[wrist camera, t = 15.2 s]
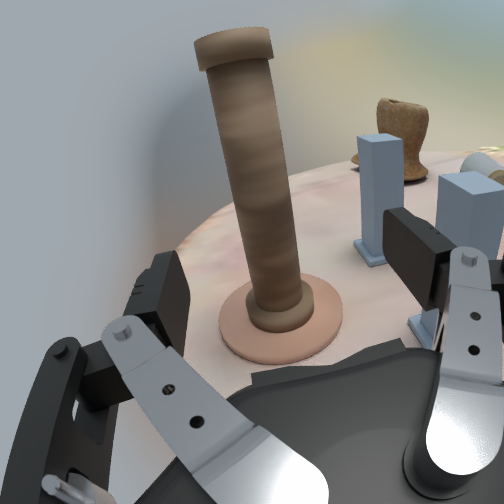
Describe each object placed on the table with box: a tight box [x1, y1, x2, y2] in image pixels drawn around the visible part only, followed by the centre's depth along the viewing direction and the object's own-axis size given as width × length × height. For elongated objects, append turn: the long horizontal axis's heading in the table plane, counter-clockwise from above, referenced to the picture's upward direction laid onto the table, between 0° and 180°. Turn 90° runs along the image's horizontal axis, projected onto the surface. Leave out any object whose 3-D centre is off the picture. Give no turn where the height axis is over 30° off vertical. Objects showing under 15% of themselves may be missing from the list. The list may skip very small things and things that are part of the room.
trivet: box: [219, 273, 342, 365], centre depth 27 cm, size 11×11×1 cm
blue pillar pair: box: [354, 133, 504, 350], centre depth 24 cm, size 19×5×13 cm, turn 5°
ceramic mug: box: [460, 152, 504, 186], centre depth 36 cm, size 11×8×8 cm
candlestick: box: [194, 27, 314, 333], centre depth 22 cm, size 6×6×22 cm
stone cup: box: [351, 98, 429, 180], centre depth 52 cm, size 15×12×15 cm
